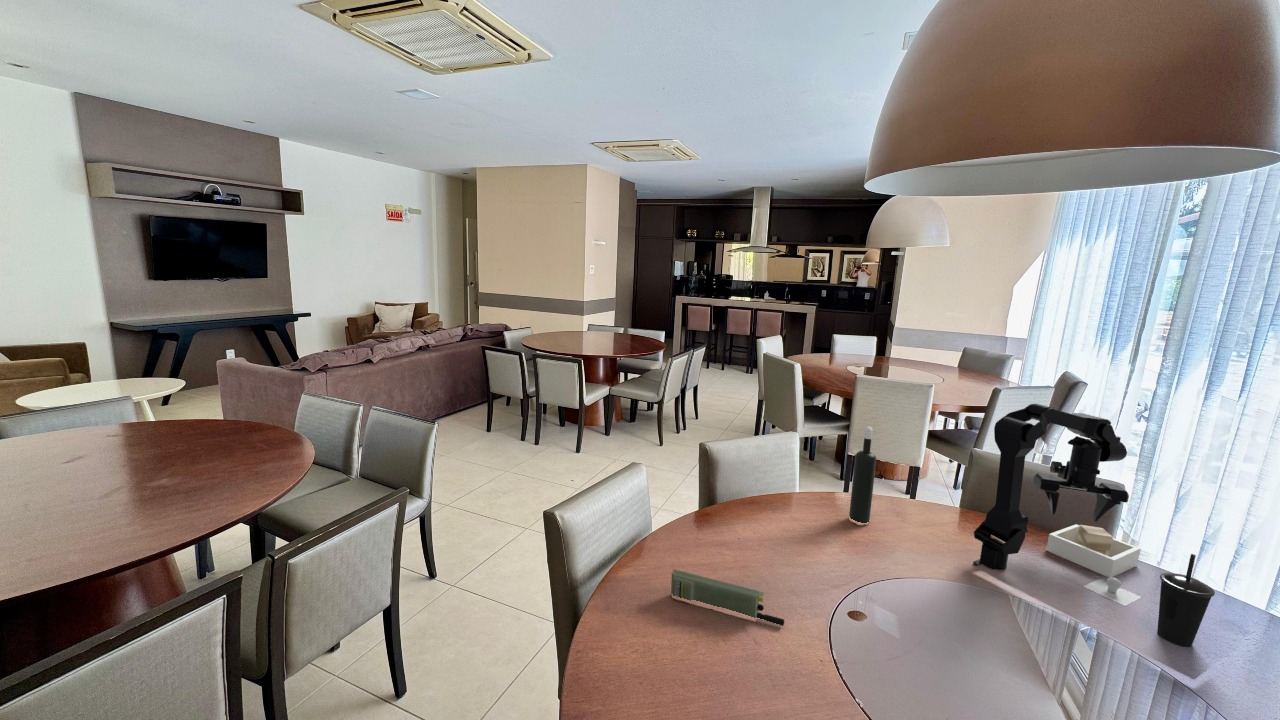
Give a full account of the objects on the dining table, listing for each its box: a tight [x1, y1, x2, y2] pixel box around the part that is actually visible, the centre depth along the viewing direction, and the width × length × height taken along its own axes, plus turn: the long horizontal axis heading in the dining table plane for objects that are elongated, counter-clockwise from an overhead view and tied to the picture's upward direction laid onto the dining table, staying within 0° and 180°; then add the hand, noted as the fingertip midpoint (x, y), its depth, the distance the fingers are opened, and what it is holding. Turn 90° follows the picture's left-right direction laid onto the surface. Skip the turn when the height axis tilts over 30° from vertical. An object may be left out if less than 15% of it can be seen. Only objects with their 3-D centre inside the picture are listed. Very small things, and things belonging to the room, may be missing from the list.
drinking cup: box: [1156, 553, 1216, 648], centre depth 104 cm, size 8×8×20 cm
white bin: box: [1046, 523, 1141, 578], centre depth 135 cm, size 14×14×6 cm
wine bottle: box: [848, 426, 877, 523], centre depth 152 cm, size 6×6×30 cm
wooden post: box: [1075, 524, 1114, 557], centre depth 135 cm, size 5×5×8 cm
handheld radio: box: [670, 568, 785, 627], centre depth 111 cm, size 7×3×25 cm
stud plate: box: [1082, 577, 1142, 607], centre depth 120 cm, size 8×8×5 cm
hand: (1073, 517), depth 136 cm, fingers open, 9 cm apart
